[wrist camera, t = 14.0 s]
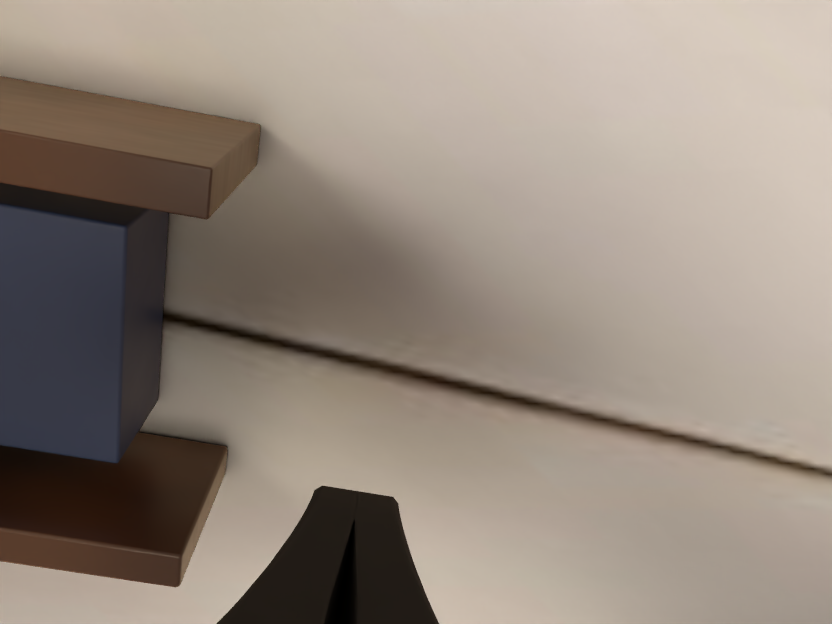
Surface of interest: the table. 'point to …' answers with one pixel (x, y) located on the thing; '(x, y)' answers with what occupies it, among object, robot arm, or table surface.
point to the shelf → (147, 454)
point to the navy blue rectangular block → (78, 321)
